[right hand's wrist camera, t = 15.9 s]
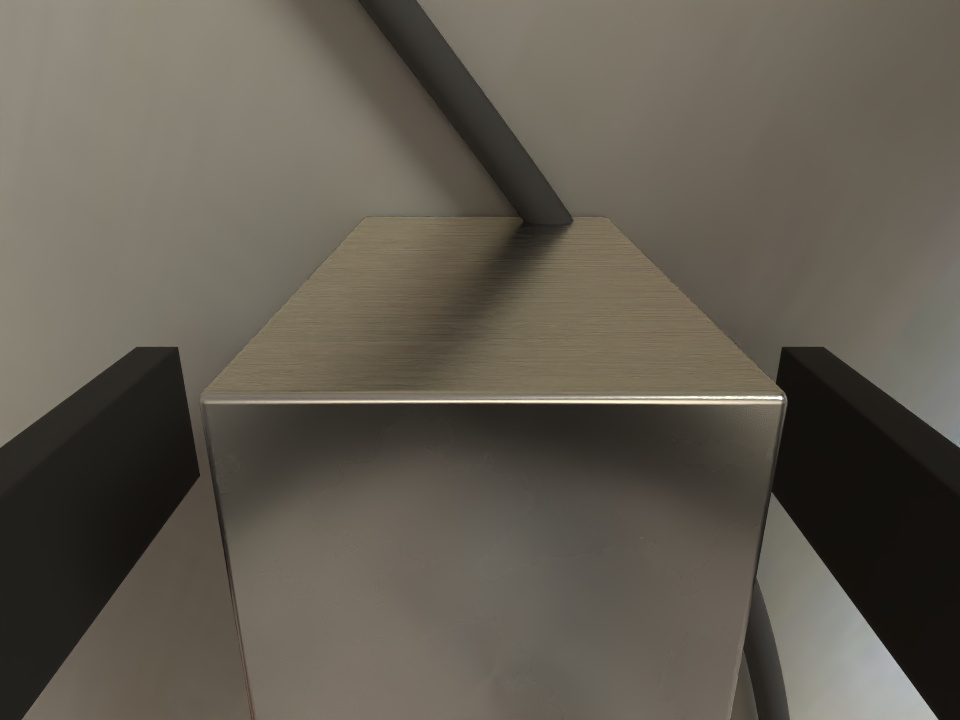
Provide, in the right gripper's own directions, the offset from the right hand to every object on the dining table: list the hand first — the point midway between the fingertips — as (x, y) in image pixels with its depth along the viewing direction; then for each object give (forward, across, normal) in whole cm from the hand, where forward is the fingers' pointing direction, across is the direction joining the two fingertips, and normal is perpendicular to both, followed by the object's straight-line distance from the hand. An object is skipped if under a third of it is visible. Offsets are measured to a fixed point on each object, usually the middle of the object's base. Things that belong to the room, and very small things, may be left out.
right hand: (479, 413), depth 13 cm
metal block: (+3, 0, 0) cm, 3 cm away
